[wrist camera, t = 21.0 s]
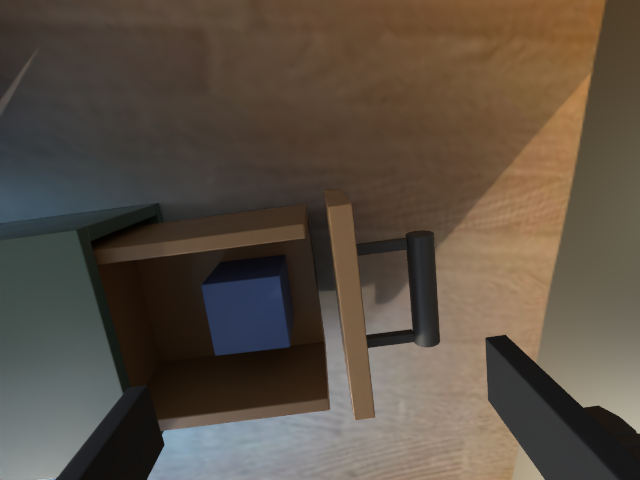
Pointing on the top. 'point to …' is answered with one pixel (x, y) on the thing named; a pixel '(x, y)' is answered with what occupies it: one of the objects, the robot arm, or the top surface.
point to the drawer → (257, 366)
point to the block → (249, 305)
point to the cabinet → (57, 338)
